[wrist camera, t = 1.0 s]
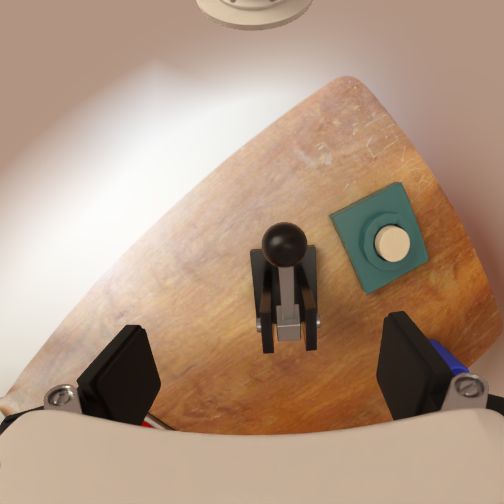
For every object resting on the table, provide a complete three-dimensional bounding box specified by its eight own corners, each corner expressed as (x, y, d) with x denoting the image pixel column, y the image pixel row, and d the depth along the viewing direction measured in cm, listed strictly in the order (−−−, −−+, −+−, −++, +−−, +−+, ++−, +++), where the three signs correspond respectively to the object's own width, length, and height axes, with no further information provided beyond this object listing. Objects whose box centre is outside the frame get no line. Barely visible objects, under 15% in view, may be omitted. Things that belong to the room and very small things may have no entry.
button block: (329, 215, 36) (335, 219, 32) (394, 181, 34) (407, 182, 30) (362, 289, 37) (370, 300, 34) (422, 255, 36) (435, 263, 32)
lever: (259, 214, 21) (259, 245, 18) (304, 211, 21) (310, 241, 18) (272, 318, 30) (273, 345, 27) (303, 316, 29) (306, 343, 27)
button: (369, 234, 32) (374, 237, 30) (397, 219, 31) (403, 221, 30) (381, 263, 33) (386, 268, 31) (408, 249, 32) (414, 252, 30)
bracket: (250, 249, 37) (238, 283, 25) (314, 244, 37) (333, 276, 24) (257, 320, 40) (250, 377, 27) (316, 316, 39) (331, 371, 26)
